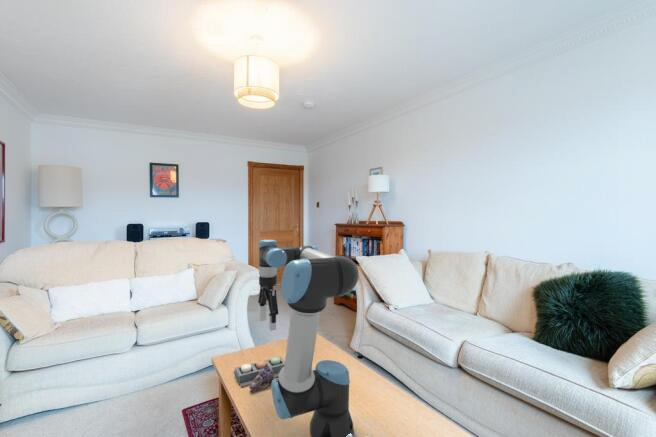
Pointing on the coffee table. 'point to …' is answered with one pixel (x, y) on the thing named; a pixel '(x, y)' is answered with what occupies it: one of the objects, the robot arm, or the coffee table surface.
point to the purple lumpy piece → (262, 379)
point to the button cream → (245, 368)
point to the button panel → (256, 372)
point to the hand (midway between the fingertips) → (267, 324)
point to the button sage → (275, 361)
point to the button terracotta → (260, 364)
